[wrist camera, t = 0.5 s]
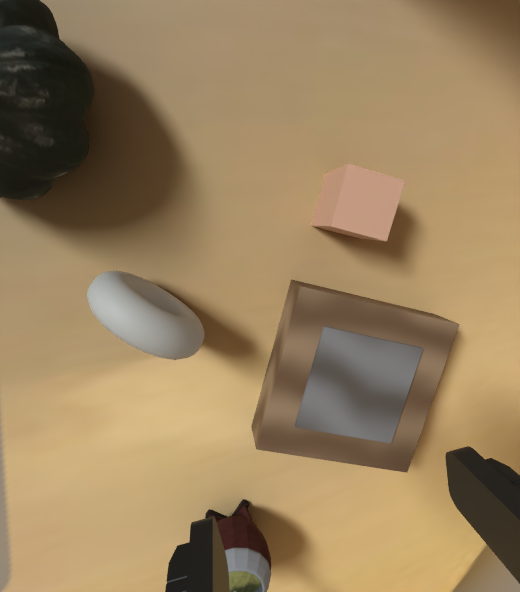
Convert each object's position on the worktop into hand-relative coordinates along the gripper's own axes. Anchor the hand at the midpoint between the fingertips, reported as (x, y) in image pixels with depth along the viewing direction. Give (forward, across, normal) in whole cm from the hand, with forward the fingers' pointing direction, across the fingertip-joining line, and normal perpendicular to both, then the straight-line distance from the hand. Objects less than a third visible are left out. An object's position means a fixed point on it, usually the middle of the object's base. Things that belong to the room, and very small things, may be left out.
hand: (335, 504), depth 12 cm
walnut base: (+25, -8, +8) cm, 27 cm away
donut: (+25, +9, -3) cm, 27 cm away
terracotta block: (+25, -11, -8) cm, 29 cm away
